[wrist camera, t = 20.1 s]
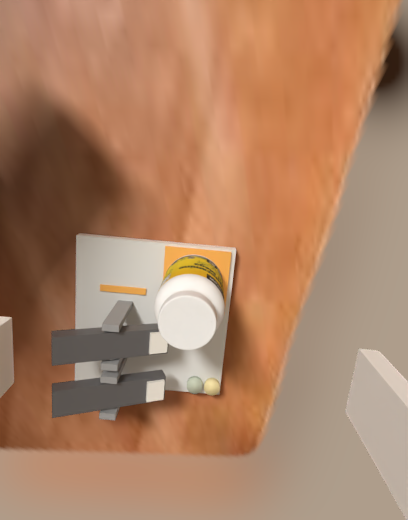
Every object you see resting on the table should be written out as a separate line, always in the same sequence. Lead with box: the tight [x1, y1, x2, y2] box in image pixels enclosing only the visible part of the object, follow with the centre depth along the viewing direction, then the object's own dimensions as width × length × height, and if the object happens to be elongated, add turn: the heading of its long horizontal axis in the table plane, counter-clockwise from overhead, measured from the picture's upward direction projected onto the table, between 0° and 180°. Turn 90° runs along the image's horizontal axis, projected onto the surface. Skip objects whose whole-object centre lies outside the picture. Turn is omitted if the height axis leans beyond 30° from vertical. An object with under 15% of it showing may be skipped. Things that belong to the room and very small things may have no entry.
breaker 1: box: [52, 323, 168, 366], centre depth 36 cm, size 11×3×2 cm, turn 83°
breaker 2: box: [52, 370, 166, 418], centre depth 37 cm, size 11×3×2 cm, turn 83°
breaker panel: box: [75, 233, 236, 420], centre depth 38 cm, size 17×18×8 cm
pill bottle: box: [154, 254, 225, 350], centre depth 34 cm, size 6×6×11 cm
